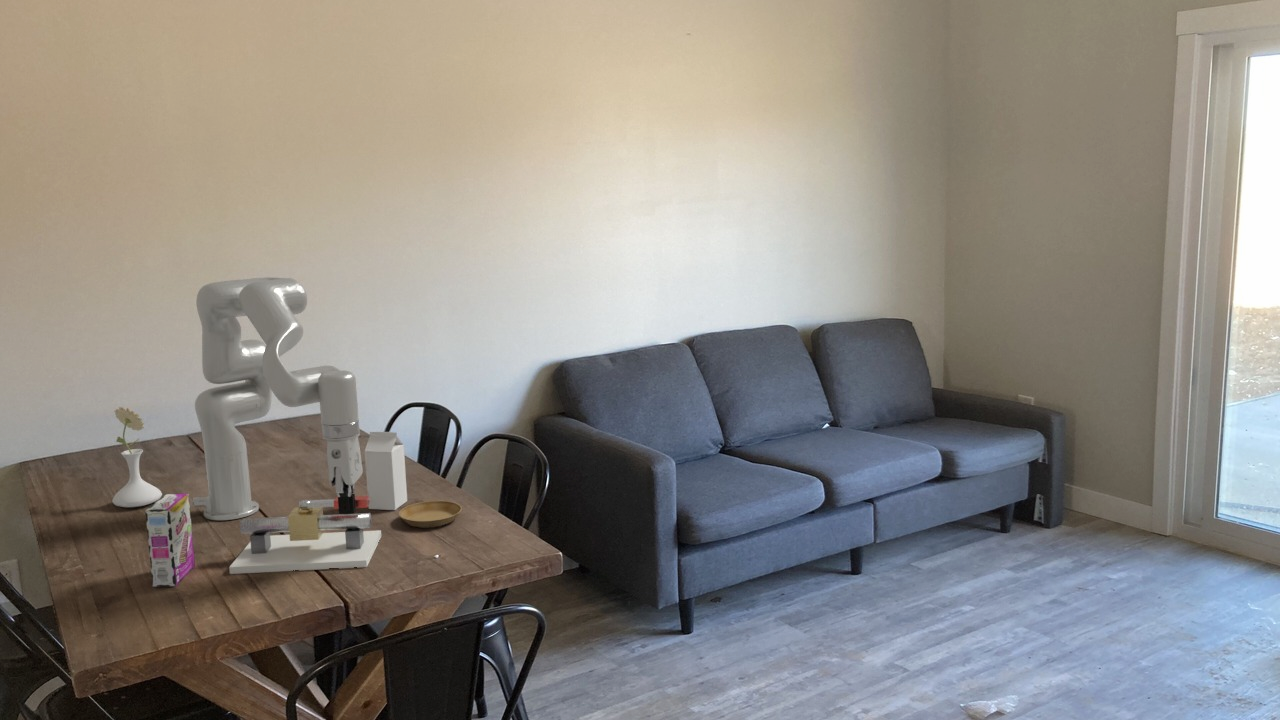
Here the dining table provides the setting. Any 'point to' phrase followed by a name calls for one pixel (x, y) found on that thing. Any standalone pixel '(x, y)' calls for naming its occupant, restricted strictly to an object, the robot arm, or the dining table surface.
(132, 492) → the flower in vase
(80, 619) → the dining table surface
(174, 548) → the candy bar box
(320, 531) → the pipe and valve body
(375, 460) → the milk carton
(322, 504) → the valve lever
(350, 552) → the valve board
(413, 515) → the plant saucer
